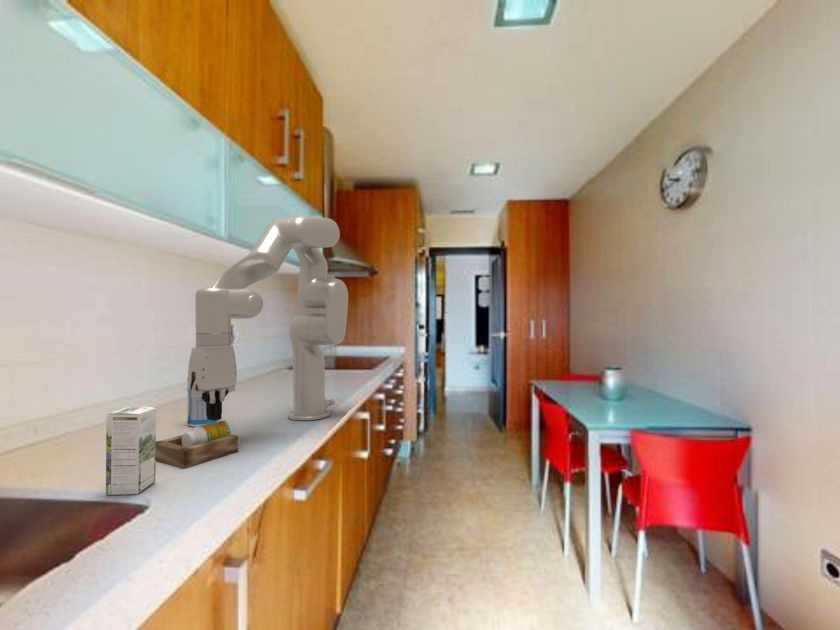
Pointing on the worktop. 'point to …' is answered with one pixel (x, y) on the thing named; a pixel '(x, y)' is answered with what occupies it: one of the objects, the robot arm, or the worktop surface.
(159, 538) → the worktop surface
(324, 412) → the robot arm
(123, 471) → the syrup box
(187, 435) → the supplement bottle
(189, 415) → the beverage bottle
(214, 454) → the tray
